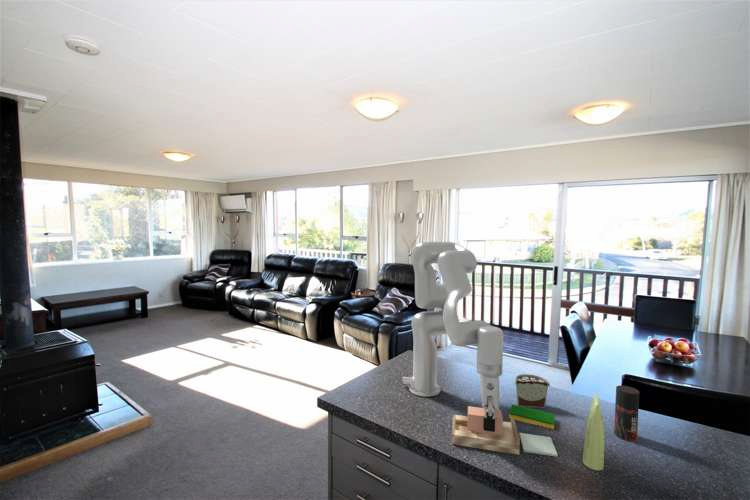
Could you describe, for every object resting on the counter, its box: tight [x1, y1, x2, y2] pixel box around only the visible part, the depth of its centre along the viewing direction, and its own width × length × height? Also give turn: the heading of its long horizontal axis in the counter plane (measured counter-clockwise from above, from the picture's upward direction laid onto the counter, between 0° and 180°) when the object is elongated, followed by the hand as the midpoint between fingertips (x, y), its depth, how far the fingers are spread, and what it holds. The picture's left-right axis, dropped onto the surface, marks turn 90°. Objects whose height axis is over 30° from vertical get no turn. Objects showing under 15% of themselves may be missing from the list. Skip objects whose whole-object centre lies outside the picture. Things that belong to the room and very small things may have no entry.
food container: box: [513, 373, 550, 409], centre depth 132 cm, size 12×6×10 cm, turn 84°
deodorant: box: [613, 385, 640, 442], centre depth 111 cm, size 6×6×15 cm
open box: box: [451, 414, 521, 456], centre depth 109 cm, size 19×12×4 cm, turn 76°
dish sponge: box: [508, 404, 556, 430], centre depth 121 cm, size 7×14×2 cm, turn 61°
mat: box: [518, 432, 559, 458], centre depth 106 cm, size 9×9×1 cm
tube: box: [582, 391, 605, 471], centre depth 96 cm, size 6×5×20 cm
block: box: [467, 405, 504, 436], centre depth 109 cm, size 5×5×10 cm
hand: (488, 422), depth 109 cm, fingers open, 9 cm apart
